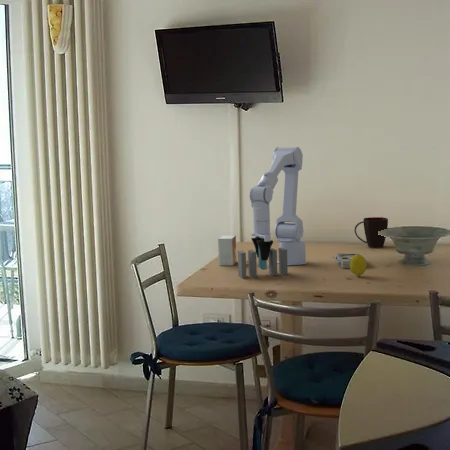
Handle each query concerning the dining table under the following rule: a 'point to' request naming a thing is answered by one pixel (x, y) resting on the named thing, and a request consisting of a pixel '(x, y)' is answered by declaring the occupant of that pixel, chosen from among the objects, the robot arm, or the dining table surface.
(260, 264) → the teal domino
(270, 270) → the domino
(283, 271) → the domino
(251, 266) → the domino
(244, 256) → the domino
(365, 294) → the dining table surface
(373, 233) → the cup
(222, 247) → the small box
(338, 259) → the handheld gaming console
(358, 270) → the lemon
